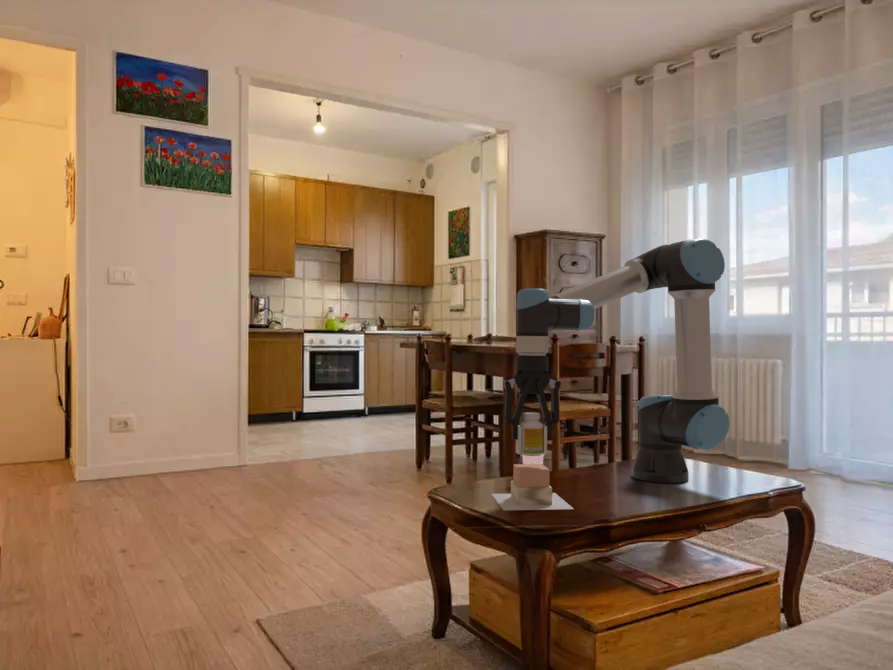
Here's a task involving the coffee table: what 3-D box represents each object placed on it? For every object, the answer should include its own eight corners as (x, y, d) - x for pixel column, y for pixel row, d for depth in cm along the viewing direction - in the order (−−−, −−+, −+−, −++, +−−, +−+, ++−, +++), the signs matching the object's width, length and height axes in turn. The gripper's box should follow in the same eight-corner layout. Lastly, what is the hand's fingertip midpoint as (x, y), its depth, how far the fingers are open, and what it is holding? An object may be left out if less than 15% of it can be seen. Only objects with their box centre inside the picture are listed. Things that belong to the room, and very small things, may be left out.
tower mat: (555, 494, 166) (555, 492, 166) (574, 510, 150) (574, 509, 150) (491, 495, 164) (491, 493, 164) (503, 512, 149) (503, 510, 149)
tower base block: (543, 496, 162) (543, 480, 162) (552, 504, 154) (552, 487, 154) (510, 497, 161) (510, 480, 161) (517, 505, 153) (517, 487, 153)
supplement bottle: (547, 455, 157) (548, 413, 157) (529, 457, 154) (530, 414, 154) (532, 451, 161) (533, 411, 161) (515, 453, 158) (515, 412, 158)
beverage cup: (546, 487, 174) (546, 433, 174) (522, 487, 174) (523, 433, 174) (542, 482, 180) (543, 430, 180) (519, 482, 180) (520, 430, 180)
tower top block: (541, 480, 161) (542, 464, 161) (549, 487, 154) (549, 469, 154) (513, 481, 161) (513, 464, 161) (519, 487, 154) (519, 470, 154)
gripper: (565, 354, 162) (564, 450, 162) (490, 353, 160) (489, 451, 160) (574, 355, 155) (574, 455, 155) (496, 354, 153) (495, 456, 153)
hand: (531, 453), depth 157 cm, fingers closed on supplement bottle, 5 cm apart
